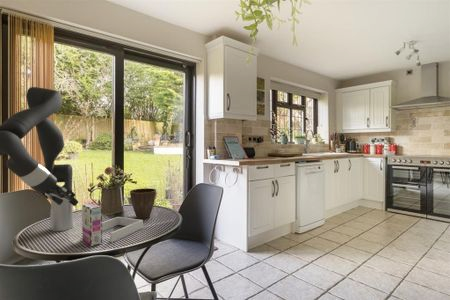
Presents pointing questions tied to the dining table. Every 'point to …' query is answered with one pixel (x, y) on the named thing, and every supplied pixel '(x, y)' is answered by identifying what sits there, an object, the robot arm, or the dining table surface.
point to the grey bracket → (130, 227)
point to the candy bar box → (92, 224)
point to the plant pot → (143, 202)
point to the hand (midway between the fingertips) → (68, 203)
